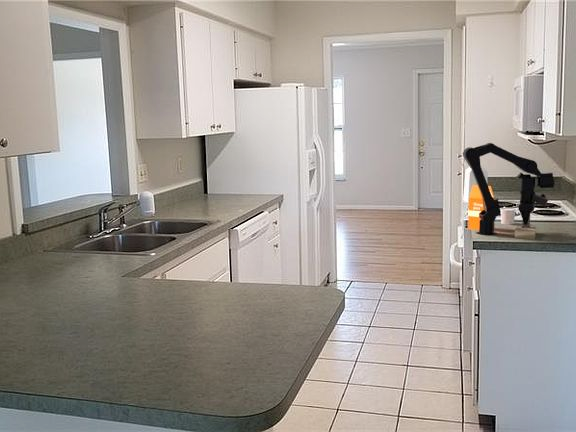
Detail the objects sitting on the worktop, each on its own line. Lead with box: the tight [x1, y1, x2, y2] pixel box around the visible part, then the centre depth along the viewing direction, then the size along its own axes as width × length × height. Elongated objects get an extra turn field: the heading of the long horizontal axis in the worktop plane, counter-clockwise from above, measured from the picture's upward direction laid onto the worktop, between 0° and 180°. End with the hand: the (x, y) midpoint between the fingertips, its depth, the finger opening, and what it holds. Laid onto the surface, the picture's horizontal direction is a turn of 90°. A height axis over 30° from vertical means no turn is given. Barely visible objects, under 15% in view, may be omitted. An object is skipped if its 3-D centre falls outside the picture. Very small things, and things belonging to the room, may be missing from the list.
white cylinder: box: [500, 208, 517, 226], centre depth 304 cm, size 7×7×7 cm
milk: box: [462, 165, 488, 204], centre depth 380 cm, size 12×12×26 cm
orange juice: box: [467, 185, 494, 231], centre depth 290 cm, size 8×9×20 cm
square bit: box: [521, 215, 531, 228], centre depth 276 cm, size 3×3×8 cm
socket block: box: [514, 224, 537, 240], centre depth 274 cm, size 16×8×3 cm, turn 157°
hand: (526, 224), depth 276 cm, fingers closed on square bit, 3 cm apart
